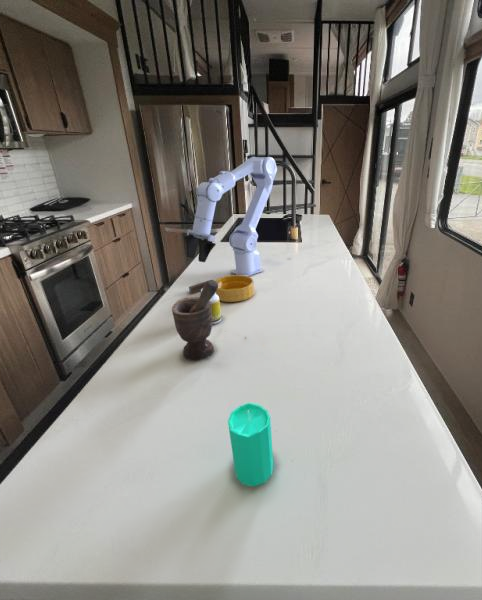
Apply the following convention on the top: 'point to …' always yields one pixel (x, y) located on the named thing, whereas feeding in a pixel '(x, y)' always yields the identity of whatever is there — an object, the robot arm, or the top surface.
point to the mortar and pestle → (195, 322)
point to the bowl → (235, 288)
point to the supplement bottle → (215, 309)
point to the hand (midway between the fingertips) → (195, 259)
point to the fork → (196, 287)
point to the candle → (251, 444)
